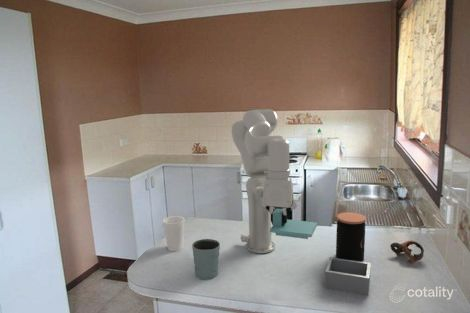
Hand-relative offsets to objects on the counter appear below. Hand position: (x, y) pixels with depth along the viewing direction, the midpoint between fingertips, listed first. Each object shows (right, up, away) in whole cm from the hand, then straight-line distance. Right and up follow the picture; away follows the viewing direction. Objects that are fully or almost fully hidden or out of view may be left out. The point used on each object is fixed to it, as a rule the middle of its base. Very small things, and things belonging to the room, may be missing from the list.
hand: (278, 223), depth 136 cm
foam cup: (-42, -16, +29) cm, 53 cm away
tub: (+23, -21, -5) cm, 32 cm away
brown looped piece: (+52, -16, +14) cm, 56 cm away
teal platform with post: (+5, -3, -1) cm, 6 cm away
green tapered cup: (-26, -20, +6) cm, 34 cm away
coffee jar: (+30, -17, +14) cm, 37 cm away
